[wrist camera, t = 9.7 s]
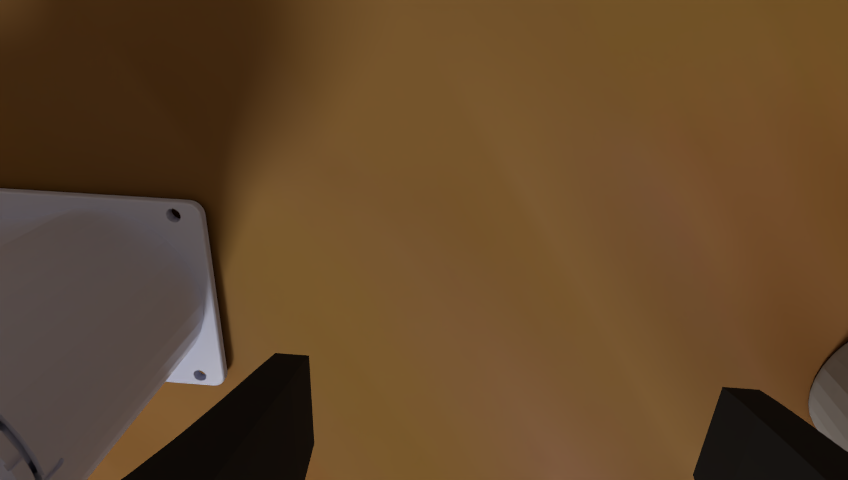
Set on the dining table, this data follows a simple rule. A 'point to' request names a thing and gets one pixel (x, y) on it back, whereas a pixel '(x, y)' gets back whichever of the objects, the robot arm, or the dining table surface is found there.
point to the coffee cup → (832, 398)
